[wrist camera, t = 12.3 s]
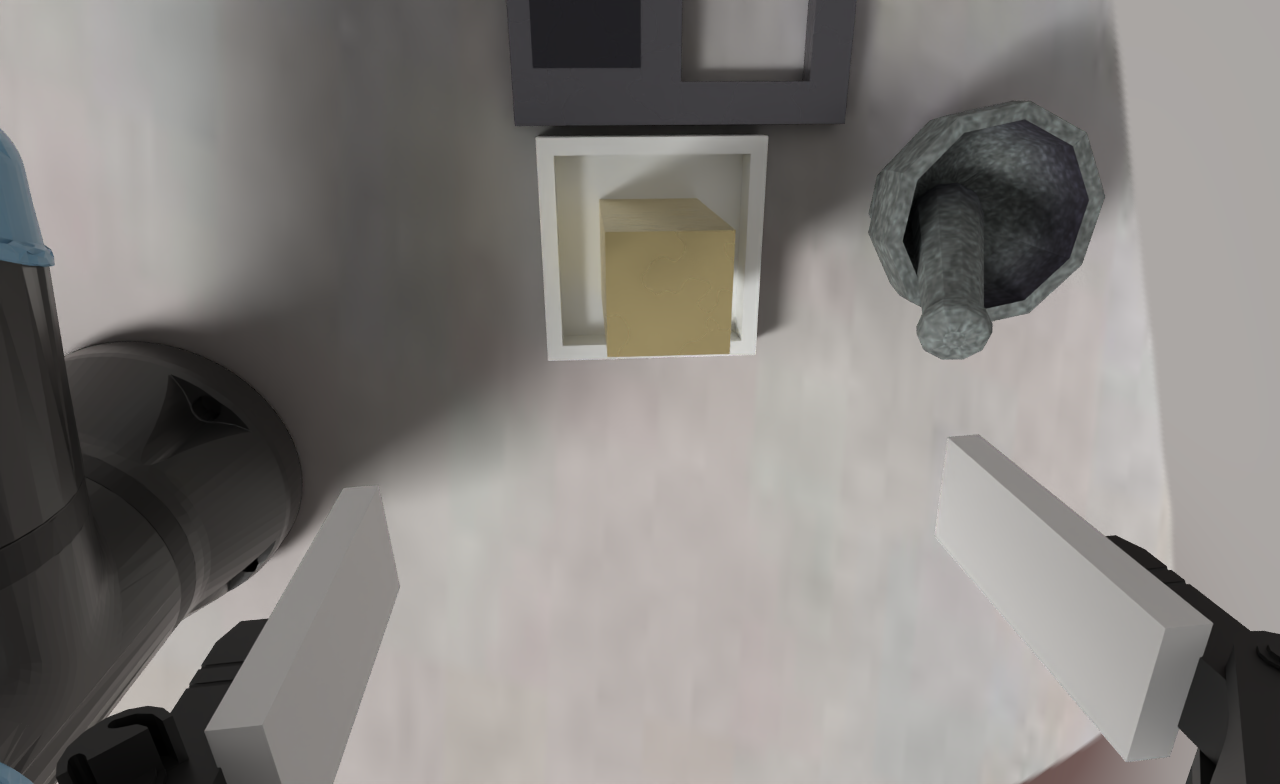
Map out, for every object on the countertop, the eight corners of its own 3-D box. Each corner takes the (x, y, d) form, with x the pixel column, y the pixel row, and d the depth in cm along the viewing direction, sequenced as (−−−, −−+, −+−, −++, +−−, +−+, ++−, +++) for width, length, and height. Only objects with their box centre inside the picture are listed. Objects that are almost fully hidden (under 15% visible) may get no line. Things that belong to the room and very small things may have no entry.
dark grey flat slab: (516, 125, 35) (514, 125, 34) (501, -119, 31) (497, -128, 30) (836, 122, 36) (845, 123, 35) (858, -113, 32) (868, -122, 31)
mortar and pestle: (944, 60, 35) (1109, 40, 24) (1050, 190, 38) (1242, 225, 27) (781, 231, 38) (863, 284, 27) (892, 341, 41) (1008, 430, 30)
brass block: (601, 295, 38) (607, 357, 29) (599, 199, 36) (605, 232, 27) (694, 293, 38) (729, 354, 29) (696, 198, 37) (735, 230, 27)
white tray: (549, 347, 39) (547, 361, 37) (538, 135, 35) (535, 137, 33) (746, 342, 40) (755, 354, 38) (757, 134, 36) (768, 135, 34)
